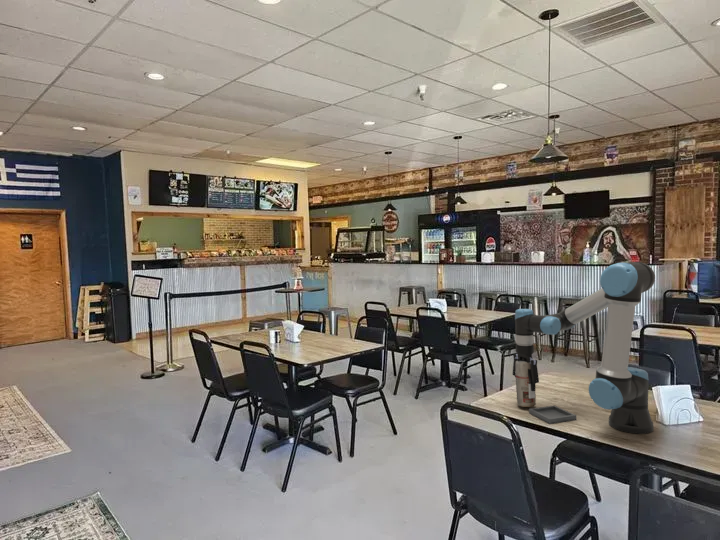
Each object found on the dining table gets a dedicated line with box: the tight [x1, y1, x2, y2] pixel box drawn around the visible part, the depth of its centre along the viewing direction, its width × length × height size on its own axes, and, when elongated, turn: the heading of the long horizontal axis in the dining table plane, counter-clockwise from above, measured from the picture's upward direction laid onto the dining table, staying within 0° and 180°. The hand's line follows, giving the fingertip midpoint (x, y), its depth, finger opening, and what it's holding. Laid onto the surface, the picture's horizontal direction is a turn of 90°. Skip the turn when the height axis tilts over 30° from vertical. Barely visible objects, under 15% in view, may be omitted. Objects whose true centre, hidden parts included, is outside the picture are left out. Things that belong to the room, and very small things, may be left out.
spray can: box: [515, 360, 537, 408], centre depth 205 cm, size 8×8×20 cm
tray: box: [528, 405, 577, 425], centre depth 193 cm, size 13×13×2 cm
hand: (525, 395), depth 206 cm, fingers closed on spray can, 8 cm apart
